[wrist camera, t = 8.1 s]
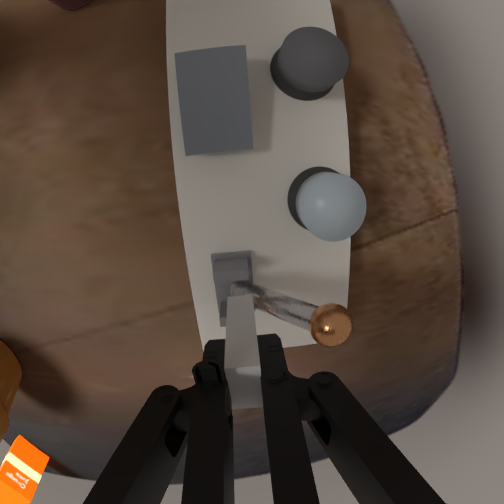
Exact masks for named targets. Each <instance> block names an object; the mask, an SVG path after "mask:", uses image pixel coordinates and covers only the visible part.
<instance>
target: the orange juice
mask: <svg viewBox="0 0 504 504" xmlns="http://www.w3.org/2000/svg"><path fill="white" fill-rule="evenodd" d="M48 460H49V457H48V456H47V455H45V454H44V453H42V452H41V451H40V450H38V449H37V448H36V447H34V446H33V445H32V444H31V443H29V442H28V441H27V440H26V439H24V438H23V437H22V436H21V435H19V436H18V437H17V438H16V439H15V441H14V442H13V444H12V446H11V448H10V450H9V452H8V453H7V455H6V457H5V459H4V461H3V462H2V465H1V467H0V504H29V503H30V502H31V500H32V498H33V495H34V493H35V489H36V488H37V485H38V483H39V481H40V479H41V476H42V473H43V471H44V469H45V467H46V464H47V462H48Z"/></svg>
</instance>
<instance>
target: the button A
mask: <svg viewBox="0 0 504 504" xmlns="http://www.w3.org/2000/svg"><path fill="white" fill-rule="evenodd" d="M277 64H278V69H279V71H280V73H281V75H282V77H283V78H284V79H285V80H286V81H287V82H288V83H289V84H290V85H291V86H293V87H294V88H296V89H299V90H301V91H305V92H312V93H313V92H321V91H324V90H326V89H328V88H330V87H331V86H333V85H334V84H336V83H337V82H339V81H340V80H341V79H342V78H343V77H344V76H345V75H346V73H347V71H348V68H349V55H348V52H347V49H346V47H345V46H344V44H343V43H342V41H341V40H340V39H339V38H338V37H337V36H335V35H334V34H333V33H331V32H329V31H327V30H325V29H322V28H318V27H302V28H298V29H296V30H294V31H292V32H291V33H289V34H288V35H287V37H286V38H285V39H284V41H283V44H282V46H281V48H280V51H279V53H278V58H277Z"/></svg>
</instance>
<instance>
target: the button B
mask: <svg viewBox="0 0 504 504" xmlns="http://www.w3.org/2000/svg"><path fill="white" fill-rule="evenodd" d="M366 208H367V205H366V198H365V195H364V192H363V190H362V188H361V187H360V186H359V184H358V183H357V182H356V181H355V180H353V179H352V178H350V177H348V176H346V175H343V174H338V173H333V172H320V173H316V174H314V175H312V176H310V177H309V178H308V179H306V180H305V181H304V182H303V184H302V185H301V187H300V188H299V190H298V193H297V196H296V210H297V214H298V217H299V218H300V220H301V222H302V223H303V224H304V225H305V226H306V228H307V229H308V230H309V231H310V232H311V233H312V234H313V235H315V236H316V237H318V238H319V239H322V240H324V241H330V242H337V241H341V240H345V239H347V238H349V237H350V236H352V235H353V234H354V233H355V232H356V231H357V230H358V229H359V228H360V227H361V225H362V223H363V221H364V218H365V215H366Z"/></svg>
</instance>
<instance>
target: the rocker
mask: <svg viewBox="0 0 504 504" xmlns="http://www.w3.org/2000/svg"><path fill="white" fill-rule="evenodd" d="M174 55H175V66H176V77H177V88H178V97H179V107H180V116H181V124H182V132H183V140H184V148H185V156H190V155H198V154H207V153H216V152H225V151H236V150H248V149H253V136H252V122H251V108H250V95H249V81H248V68H247V55H246V45H237V46H225V47H215V48H207V49H199V50H192V51H186V52H179V53H174Z"/></svg>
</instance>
